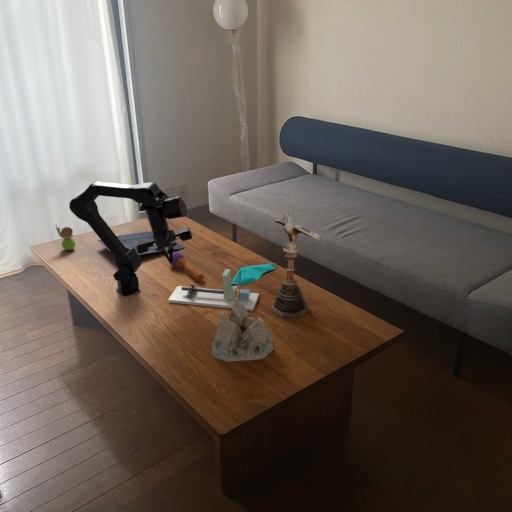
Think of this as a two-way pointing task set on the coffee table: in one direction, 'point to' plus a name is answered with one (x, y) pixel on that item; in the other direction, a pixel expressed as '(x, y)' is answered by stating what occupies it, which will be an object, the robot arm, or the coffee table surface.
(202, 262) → the coffee table surface
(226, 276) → the sage green stepped block
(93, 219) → the robot arm
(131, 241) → the papers
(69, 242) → the snail figurine
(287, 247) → the bird statue
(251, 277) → the cloth
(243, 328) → the ceramic cottage
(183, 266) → the kendama
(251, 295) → the white board with rod
